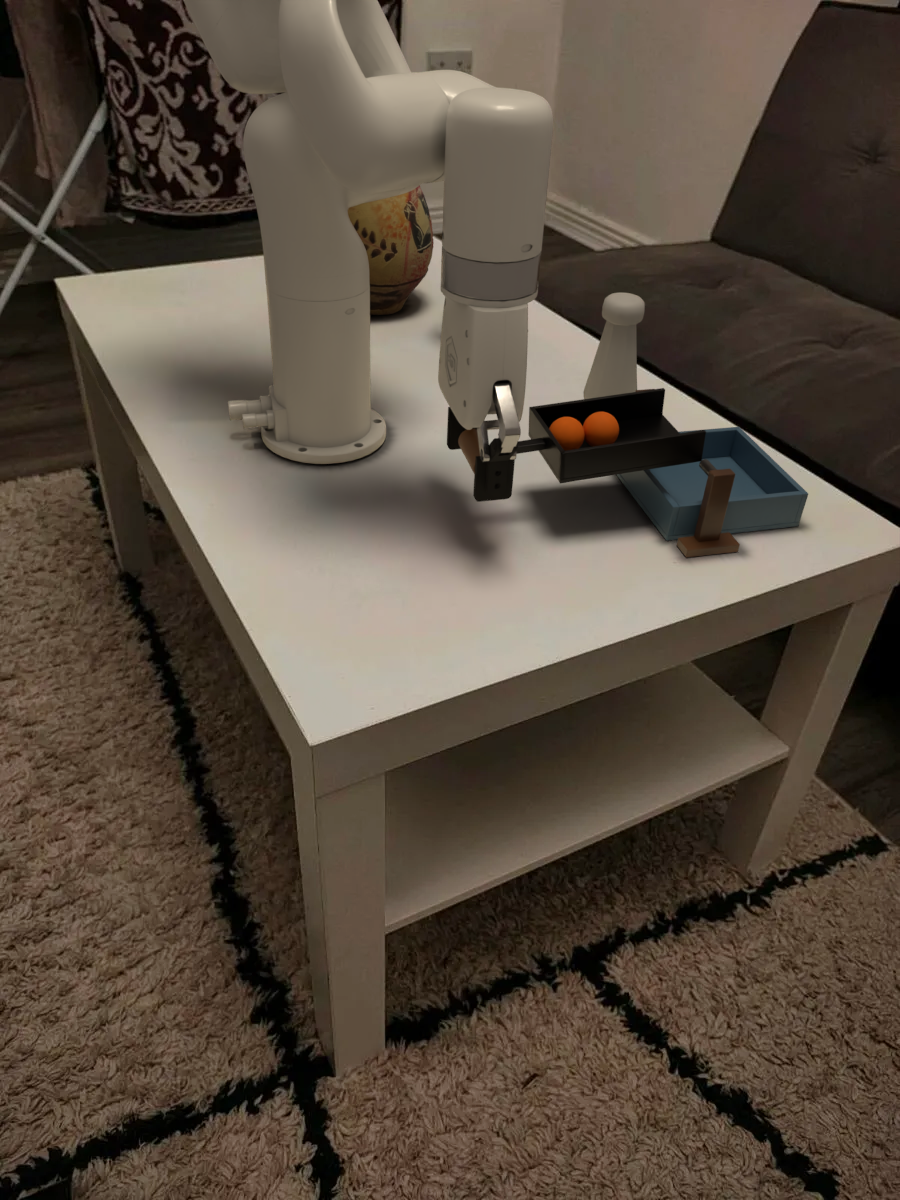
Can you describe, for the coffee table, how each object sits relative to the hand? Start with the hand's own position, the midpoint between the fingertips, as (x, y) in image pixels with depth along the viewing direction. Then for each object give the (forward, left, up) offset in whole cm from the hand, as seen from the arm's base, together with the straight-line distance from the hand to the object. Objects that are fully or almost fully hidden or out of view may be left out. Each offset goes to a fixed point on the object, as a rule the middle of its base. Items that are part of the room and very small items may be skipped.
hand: (477, 471), depth 84 cm
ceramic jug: (+1, +55, -5) cm, 55 cm away
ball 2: (+11, 0, +3) cm, 11 cm away
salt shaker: (+20, +18, -5) cm, 27 cm away
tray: (+22, 0, -5) cm, 23 cm away
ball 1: (+8, 0, +3) cm, 8 cm away
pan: (+9, 0, +1) cm, 9 cm away
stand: (+19, 0, -5) cm, 20 cm away
